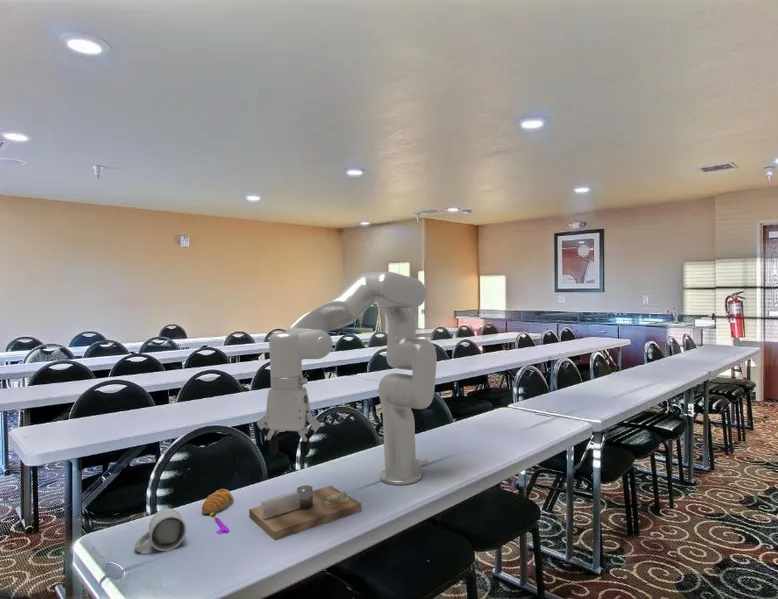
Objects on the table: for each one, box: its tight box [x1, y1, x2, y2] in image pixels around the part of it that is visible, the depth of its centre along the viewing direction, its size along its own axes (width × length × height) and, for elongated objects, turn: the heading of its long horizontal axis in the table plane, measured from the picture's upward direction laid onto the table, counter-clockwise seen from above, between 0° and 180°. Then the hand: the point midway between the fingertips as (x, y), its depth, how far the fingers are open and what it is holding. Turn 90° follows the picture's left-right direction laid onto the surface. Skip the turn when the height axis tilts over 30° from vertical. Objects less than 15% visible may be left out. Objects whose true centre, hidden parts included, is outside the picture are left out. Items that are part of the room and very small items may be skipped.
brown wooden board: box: [248, 485, 362, 541], centre depth 133 cm, size 24×16×5 cm, turn 126°
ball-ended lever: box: [260, 484, 314, 519], centre depth 131 cm, size 14×4×4 cm, turn 126°
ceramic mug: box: [134, 507, 187, 553], centre depth 120 cm, size 11×8×8 cm
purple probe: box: [208, 512, 230, 535], centre depth 131 cm, size 3×1×16 cm
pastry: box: [201, 488, 235, 514], centre depth 139 cm, size 9×7×4 cm
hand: (289, 455), depth 125 cm, fingers open, 7 cm apart
